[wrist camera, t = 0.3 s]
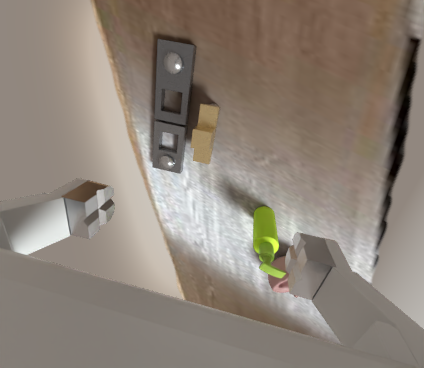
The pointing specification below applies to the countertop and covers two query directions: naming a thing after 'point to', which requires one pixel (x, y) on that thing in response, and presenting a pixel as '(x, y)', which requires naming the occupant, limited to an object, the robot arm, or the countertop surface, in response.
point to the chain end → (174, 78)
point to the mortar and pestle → (279, 283)
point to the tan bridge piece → (205, 132)
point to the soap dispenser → (266, 240)
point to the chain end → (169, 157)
